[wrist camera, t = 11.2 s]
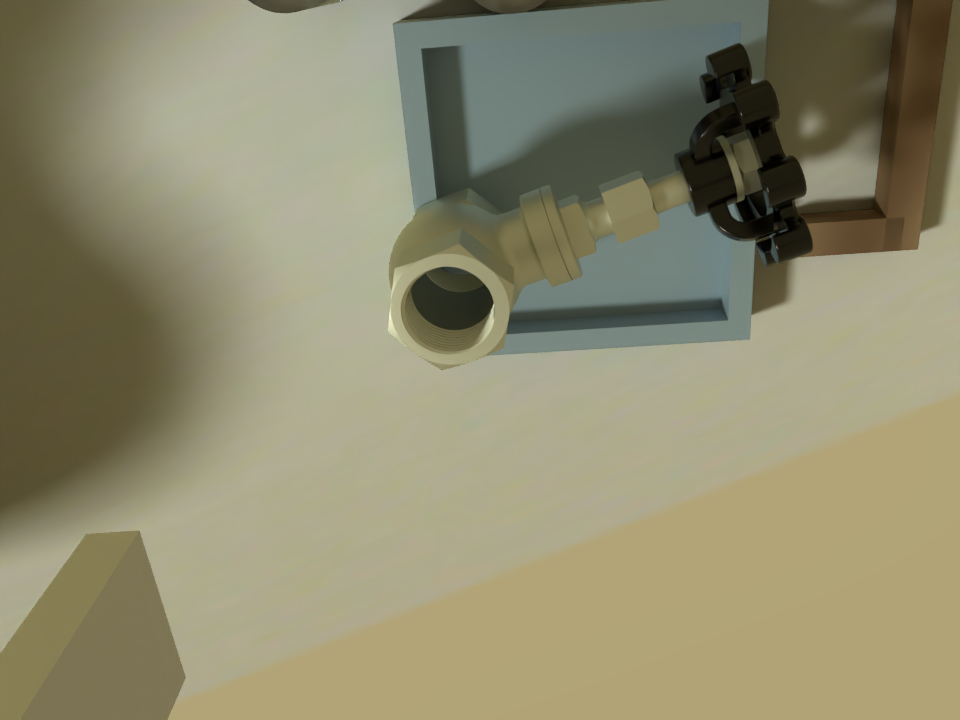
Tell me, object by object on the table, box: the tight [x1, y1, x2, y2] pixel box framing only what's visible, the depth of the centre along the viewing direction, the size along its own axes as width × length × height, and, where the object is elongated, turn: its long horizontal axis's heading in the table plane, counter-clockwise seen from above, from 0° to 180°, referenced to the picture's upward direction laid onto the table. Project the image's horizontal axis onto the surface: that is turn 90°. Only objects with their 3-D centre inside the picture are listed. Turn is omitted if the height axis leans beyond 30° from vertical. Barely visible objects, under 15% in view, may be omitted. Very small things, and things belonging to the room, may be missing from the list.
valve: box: [388, 43, 813, 370], centre depth 26 cm, size 7×7×12 cm
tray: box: [393, 0, 769, 356], centre depth 30 cm, size 12×12×2 cm
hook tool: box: [798, 0, 953, 257], centre depth 28 cm, size 5×14×1 cm, turn 5°
